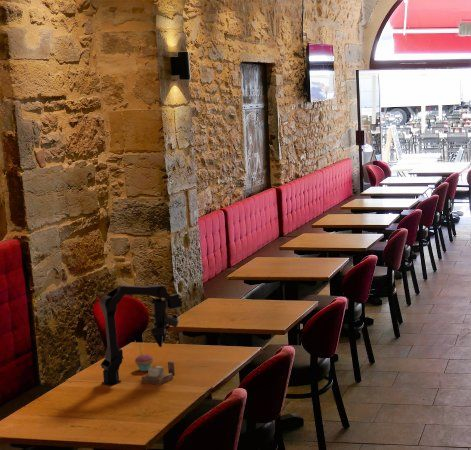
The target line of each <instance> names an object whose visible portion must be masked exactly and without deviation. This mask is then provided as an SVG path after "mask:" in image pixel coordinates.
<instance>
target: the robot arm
mask: <svg viewBox="0 0 471 450" xmlns="http://www.w3.org/2000/svg"><path fill="white" fill-rule="evenodd" d="M167 291H168V290H167V288H166V287H165V286H164V285H161V284H158V283H156V284H148V285H146V286H145V285H144V286H143V285H122V284H119V285H117V286H115V288H114V289H112V290H111V291H109V292H108V293H106V295H103V296H102V297H100V299H99V306H100V310H101V311H102V314H103V316H104V325H105V335H106V344H107V345H106V350H105V352H104V353H105V354H104V355H105V356H104V359H103V360H102V362H100V366H101V368H102V369H103V371H102V376H103V381H102V382H101V384H104V385H107V386H114V385H116V384H118V383H121V382H122V380H121V379H120V376H119V373H120V372H119V370H120V367H121V364H122V363H123V360H124V356H123V354H124V353H123V349H121V348H119V345H118V338H117V329H116V326H117V325H116V312H117V309H118V308H117V307H118V304H119V303H120V302H121V301H122V299H123V298H124V296H125V295H134V296H137V295H139V296H149V297H151V298H150V300H149V301H148V303H149V304H152V305H153V315H152V316H153V318H154V319H153V320H154V323H153V327H152V328H151V329H150V334H151V335H152V336H153V338H154V341H156V343H157V345H158V347H160V348H162V346H163V342H164V343H165V342H166V339H167V333H168V329H169V328H170V327H171V326H172V327H174V328H177V327H178V325H179V321H180V318H179V316H178V314H173V315H169V313H168V311H169V310H176V309H181V308H182V305H183V301H182V299H181V297H180V294H179V293H174V294H169V293H168V292H167ZM167 309H168V311H167Z"/></svg>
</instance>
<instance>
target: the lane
mask: <svg viewBox="0 0 471 450" xmlns="http://www.w3.org/2000/svg"><path fill="white" fill-rule="evenodd" d="M173 376H174V375H173V374H172V373H170V374H169V373H168V374H164V376H162V377H160V378H158V379H156V378H151V377H149V373H148V374H146V375H143V376H141V382H142V383H144V384H149V385H153V386H159V385H162V384H163V383H167V382H169V381H171V380H173V379H174V378H173Z"/></svg>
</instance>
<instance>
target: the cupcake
mask: <svg viewBox="0 0 471 450" xmlns="http://www.w3.org/2000/svg"><path fill="white" fill-rule="evenodd" d="M139 351H140V355H138V356H137V357H135V359H134V361H135V364H136V365H137V367H138V369H139V371H141V372H147V371H148V369H149V368H151V365H152V363H153V362H154V358H153V356H151V355H150V354H143V349H142V346H141V345H139Z"/></svg>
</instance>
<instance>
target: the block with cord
mask: <svg viewBox="0 0 471 450" xmlns="http://www.w3.org/2000/svg"><path fill="white" fill-rule="evenodd" d="M167 369H168V370H167V371H168V372H167V373H168V374H170V373H172V374H173V376H175V373H176V371H175V361H173V360H169V361H168V362H167ZM147 371H148V372H147V373H148V374H149V377H151V378H156V379H158V378H160V377H162V376H165V367H164V366H159V365H154V366H150V368H149V369H148V370H147Z"/></svg>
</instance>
